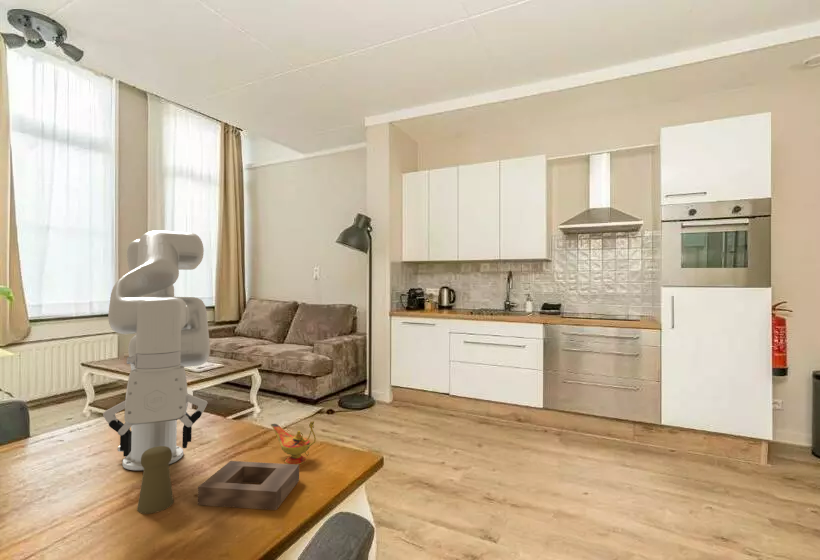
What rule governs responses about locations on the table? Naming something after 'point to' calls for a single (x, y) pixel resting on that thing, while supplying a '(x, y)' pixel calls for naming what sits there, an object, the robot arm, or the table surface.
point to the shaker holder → (249, 485)
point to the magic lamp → (294, 444)
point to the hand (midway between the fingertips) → (156, 449)
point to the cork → (155, 480)
